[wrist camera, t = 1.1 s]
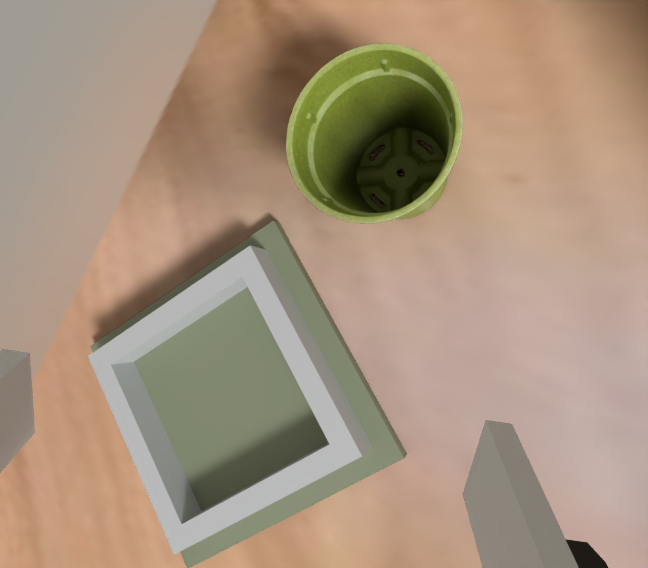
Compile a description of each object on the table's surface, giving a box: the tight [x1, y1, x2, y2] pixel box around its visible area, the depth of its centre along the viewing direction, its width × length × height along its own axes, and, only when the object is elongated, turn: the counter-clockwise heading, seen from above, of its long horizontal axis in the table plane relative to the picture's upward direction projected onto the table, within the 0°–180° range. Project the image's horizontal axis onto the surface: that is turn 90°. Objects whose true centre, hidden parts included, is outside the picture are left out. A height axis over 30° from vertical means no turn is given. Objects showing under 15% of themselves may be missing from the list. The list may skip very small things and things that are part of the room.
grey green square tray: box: [88, 220, 407, 568], centre depth 38 cm, size 18×18×4 cm
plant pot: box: [286, 44, 463, 224], centre depth 32 cm, size 9×9×9 cm
